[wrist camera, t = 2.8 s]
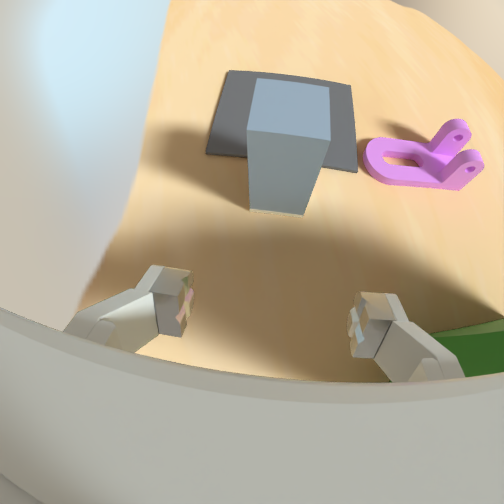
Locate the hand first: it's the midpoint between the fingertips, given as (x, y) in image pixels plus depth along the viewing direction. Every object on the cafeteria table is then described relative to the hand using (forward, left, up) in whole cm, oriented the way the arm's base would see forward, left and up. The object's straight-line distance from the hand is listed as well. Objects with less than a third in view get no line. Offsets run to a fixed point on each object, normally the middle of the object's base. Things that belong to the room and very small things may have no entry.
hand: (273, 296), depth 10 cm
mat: (+14, +18, -15) cm, 28 cm away
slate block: (+7, +10, -15) cm, 20 cm away
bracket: (+23, +6, -16) cm, 29 cm away
